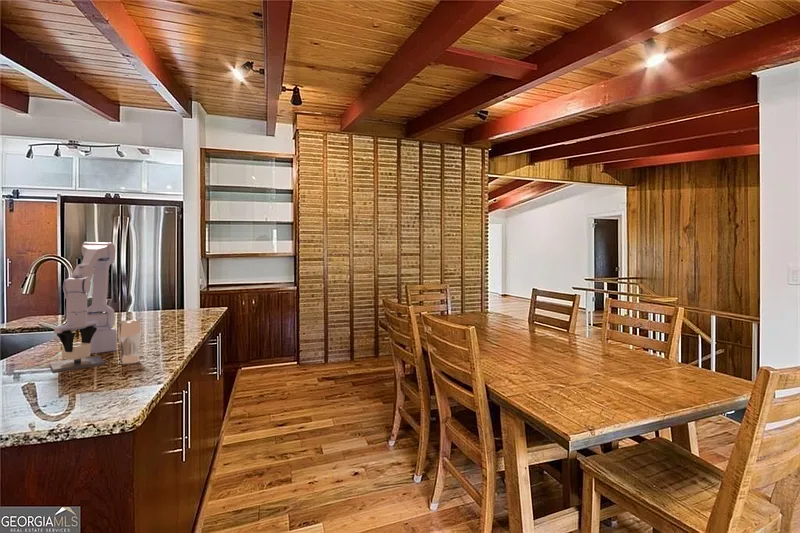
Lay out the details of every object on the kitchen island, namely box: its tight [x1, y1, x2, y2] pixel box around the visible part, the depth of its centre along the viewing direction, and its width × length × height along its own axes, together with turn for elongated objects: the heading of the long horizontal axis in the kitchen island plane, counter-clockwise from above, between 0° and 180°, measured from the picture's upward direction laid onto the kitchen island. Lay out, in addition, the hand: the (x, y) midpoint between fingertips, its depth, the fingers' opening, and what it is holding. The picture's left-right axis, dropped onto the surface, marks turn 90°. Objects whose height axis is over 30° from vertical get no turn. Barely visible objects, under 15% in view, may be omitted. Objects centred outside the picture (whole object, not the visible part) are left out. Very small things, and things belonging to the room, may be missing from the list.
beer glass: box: [117, 319, 142, 365], centre depth 145 cm, size 7×7×15 cm
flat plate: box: [49, 355, 106, 373], centre depth 141 cm, size 14×12×4 cm
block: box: [61, 341, 91, 360], centre depth 141 cm, size 6×6×4 cm
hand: (77, 349), depth 141 cm, fingers closed on block, 6 cm apart
